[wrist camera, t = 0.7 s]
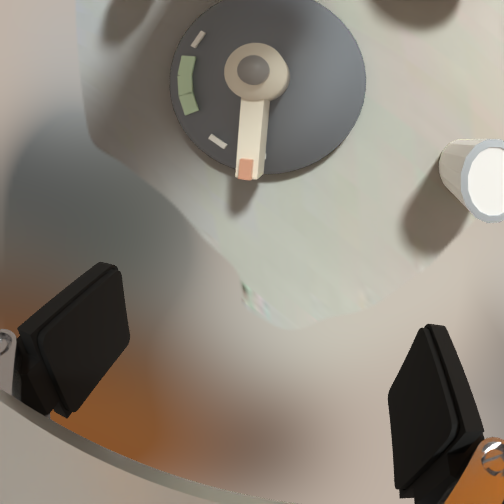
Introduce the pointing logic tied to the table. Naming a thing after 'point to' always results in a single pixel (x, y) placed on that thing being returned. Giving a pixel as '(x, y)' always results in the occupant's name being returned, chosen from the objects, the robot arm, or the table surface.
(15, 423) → the robot arm
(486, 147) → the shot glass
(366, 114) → the table surface
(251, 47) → the lever
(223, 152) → the dial
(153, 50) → the table surface
